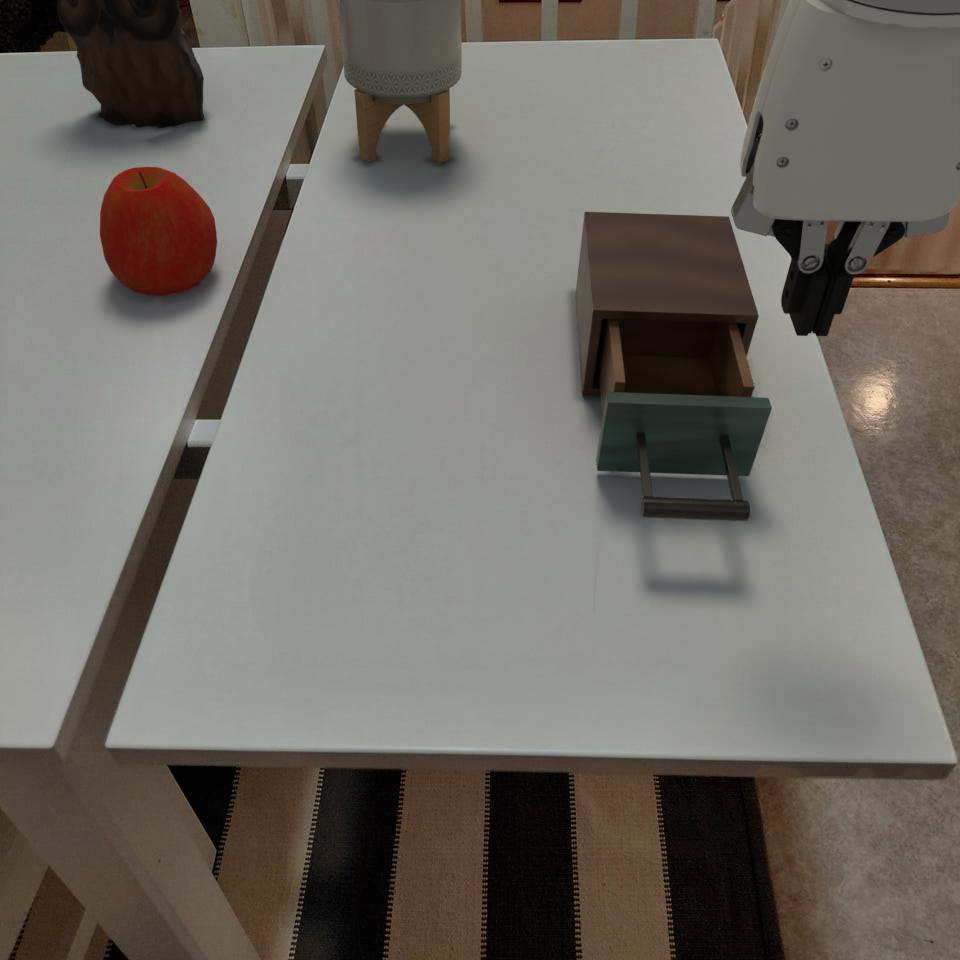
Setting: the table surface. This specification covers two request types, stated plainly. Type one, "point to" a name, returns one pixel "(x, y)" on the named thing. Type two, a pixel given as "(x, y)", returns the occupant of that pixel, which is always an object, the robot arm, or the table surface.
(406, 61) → the planter
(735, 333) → the drawer
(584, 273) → the cabinet
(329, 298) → the table surface
